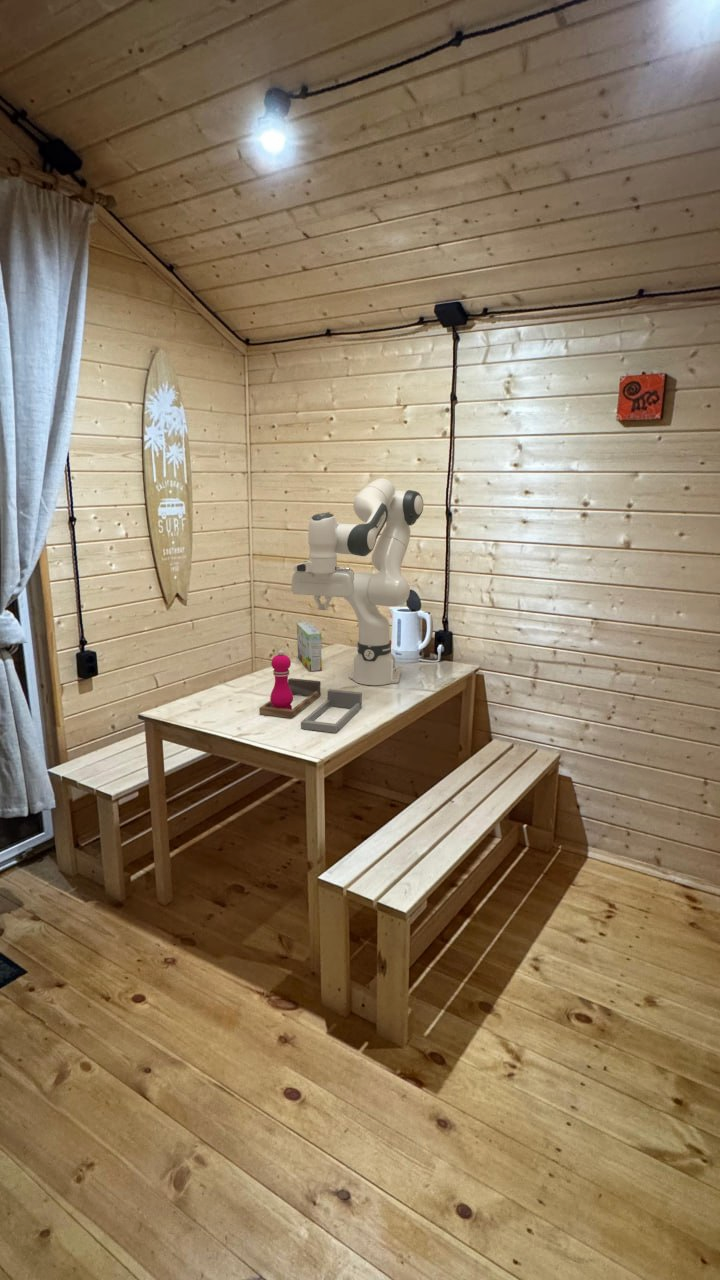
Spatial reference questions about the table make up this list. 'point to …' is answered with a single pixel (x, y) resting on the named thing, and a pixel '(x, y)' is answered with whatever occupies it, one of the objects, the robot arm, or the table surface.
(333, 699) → the grey open rectangular frame
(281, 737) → the table surface
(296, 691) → the brown wooden rectangular frame
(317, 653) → the snack box
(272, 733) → the table surface
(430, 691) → the table surface
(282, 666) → the pepper mill
